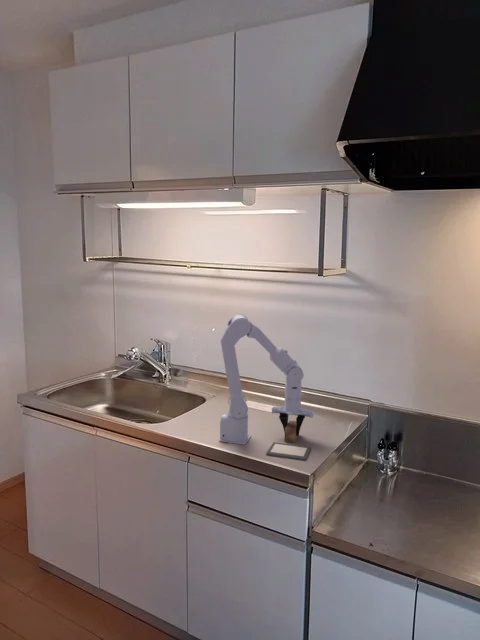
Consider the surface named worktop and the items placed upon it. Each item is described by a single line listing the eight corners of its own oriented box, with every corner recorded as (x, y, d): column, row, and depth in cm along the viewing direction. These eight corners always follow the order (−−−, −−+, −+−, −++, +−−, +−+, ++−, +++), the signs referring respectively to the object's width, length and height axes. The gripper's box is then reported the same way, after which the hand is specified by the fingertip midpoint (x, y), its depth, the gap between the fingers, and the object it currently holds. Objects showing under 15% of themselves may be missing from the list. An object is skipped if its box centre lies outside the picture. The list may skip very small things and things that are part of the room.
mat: (266, 455, 168) (266, 453, 168) (273, 443, 178) (273, 441, 178) (305, 460, 165) (305, 458, 165) (310, 448, 174) (310, 446, 174)
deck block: (284, 441, 180) (284, 428, 179) (289, 433, 187) (289, 420, 186) (294, 443, 179) (294, 429, 178) (298, 434, 186) (299, 421, 185)
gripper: (270, 398, 179) (269, 435, 181) (311, 403, 175) (310, 441, 177) (274, 393, 186) (273, 428, 188) (314, 397, 181) (313, 433, 184)
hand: (291, 434), depth 183 cm, fingers closed on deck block, 3 cm apart
